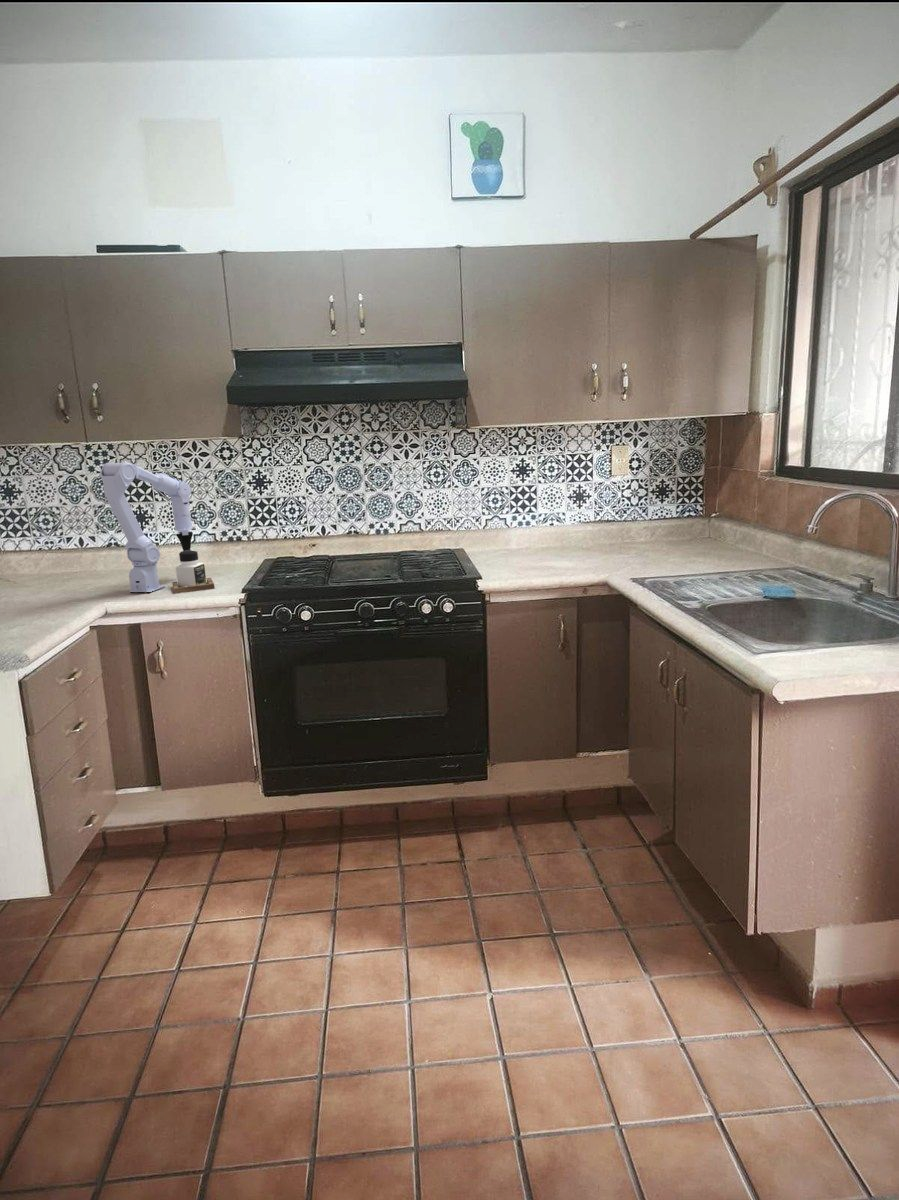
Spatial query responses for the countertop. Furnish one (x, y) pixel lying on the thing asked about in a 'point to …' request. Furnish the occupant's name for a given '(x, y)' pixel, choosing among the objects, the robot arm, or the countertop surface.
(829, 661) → the countertop surface
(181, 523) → the robot arm
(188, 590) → the walnut frame
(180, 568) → the medicine bottle
